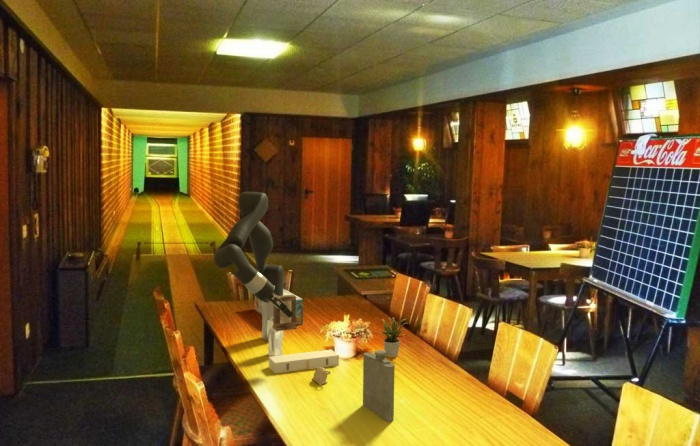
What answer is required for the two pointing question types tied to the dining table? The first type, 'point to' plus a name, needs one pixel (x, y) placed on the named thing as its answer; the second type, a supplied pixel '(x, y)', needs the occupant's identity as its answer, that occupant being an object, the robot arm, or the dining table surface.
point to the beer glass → (274, 339)
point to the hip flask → (378, 384)
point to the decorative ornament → (320, 375)
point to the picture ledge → (303, 361)
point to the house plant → (392, 338)
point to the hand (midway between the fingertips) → (289, 314)
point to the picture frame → (283, 320)
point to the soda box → (298, 306)
